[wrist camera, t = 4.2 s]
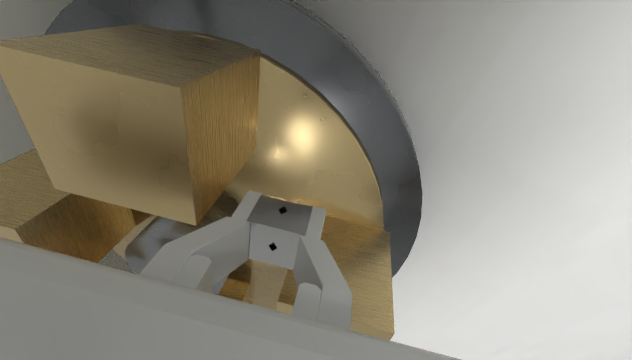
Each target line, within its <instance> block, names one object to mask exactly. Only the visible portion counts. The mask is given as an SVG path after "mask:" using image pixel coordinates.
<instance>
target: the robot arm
mask: <svg viewBox="0 0 632 360" xmlns="http://www.w3.org/2000/svg"><path fill="white" fill-rule="evenodd" d="M325 215H326V209H324V208H319V207H315V206H309V205H305V204H301V203H297V202H293V201H289V200H285V199H282V198H278V197H274V196H271V195H267V194H262V193H259V192H255V191H251V190H250V191H248V192H247V193H246V195H245V196H244V198H243V199H242V201H241V202H240V204H239V206H238V207H237V209H236V210H235V212H234V213H233V215H232V216H231V217H228V216H227V217H224V218H222V219H220V220H218V221H216V222H213V223H211V224H209V225H207V226H204V227H202V228H200V229H198V230H196V231H193V232H191V233H189V234H187V235H184V236H182V237H180V238H178V239H176V240H173V241H171V242H169V243H167V244H164V246H163V247H162V248H161V249H160V250H159V251H158V253H157V254H156V255H155V256H154V257H153V258H152V260H151V261H150V262H149V263H148V264H147V266H146V267H145V268H144V269H143V270H142V271H141V273H140V274H137V273H133V272H129V271H125V270H122V269H118V268H114V267H110V266H107V265H103V264H99V263H95V262H92V261H88V260H84V259H80V258H76V257H73V256H69V255H65V254H61V253H58V252H54V251H50V250H46V249H43V248H39V247H35V246H31V245H27V244H24V243H20V242H16V241H12V240H9V239H5V238H1V237H0V360H461V359H457V358H453V357H450V356H446V355H442V354H438V353H434V352H431V351H427V350H423V349H419V348H416V347H412V346H408V345H404V344H401V343H397V342H393V341H389V340H386V339H382V338H378V337H374V336H371V335H367V334H363V333H359V332H355V331H352V330H350V325H351V310H352V295H353V294H352V292H351V290H350V288H349V286H348V285H347V283H346V281H345V279H344V277H343V275H342V273H341V272H340V270H339V268H338V266H337V264H336V262H335V260H334V258H333V257H332V255H331V253H330V251H329V249H328V247H327V245H326V244H325V242H324V241H323V240H320V238H321V234H322V229H323V224H324V220H325ZM248 259H252V260H257V261H261V262H265V263H270V264H273V265H277V266H280V267H284V268H287V269H291V270H293V274H294V277H295V280H296V283H297V287H298V292H297V296H296V299H295V303H294V307H293V310H292V314H287V313H284V312H280V311H276V310H272V309H268V308H265V307H261V306H257V305H253V304H250V303H246V302H242V301H238V300H235V299H231V298H227V297H223V296H220V295H216V294H213V285H215V284H216V283H217V282H219V281H220V280H221V279H223V278H224V277H225V276H227V275H228V274H230V273H231V272H232V271H234V270H235V269H236V268H238V267H239V266H240V265H242V264H243V263H244V262H246V261H247V260H248Z"/></svg>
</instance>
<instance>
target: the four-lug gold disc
mask: <svg viewBox="0 0 632 360" xmlns="http://www.w3.org/2000/svg"><path fill="white" fill-rule="evenodd" d="M0 75H1V77H2V79H3V81H4V83H5V85H6V87H7V89H8V92H9V94H10V96H11V98H12V100H13V102H14V104H15V106H16V108H17V110H18V112H19V115H20V117H21V119H22V121H23V123H24V125H25V127H26V129H27V131H28V133H29V136H30V138H31V140H32V142H33V144H34V146H35V149H33V150H31V151H29V152H27V153H24V154H22V155H20V156H18V157H15V158H13V159H11V160H9V161H7V162H4V163H2V164H0V237H1V238H5V239H9V240H12V241H16V242H20V243H24V244H27V245H31V246H35V247H39V248H43V249H46V250H50V251H54V252H58V253H61V254H65V255H69V256H73V257H76V258H80V259H84V260H88V261H92V262H95V263H98V262H99V261H100V260H101V259H102V258H103V257H104V256H105V255H106V254H107V253H108V252H110V251H111V250H112V249H113V250H114V251H115V252H116V253H117V254H118V255H120V256H121V257H122V258H123V259H124V260H126V262H127V264H128V266H129V268H130V269H131V271H132V272H133V273H137V274H140V273H141V271H142V270H143V269H144V268H145V267H146V266H147V264H148V263H149V262H150V261H151V260H152V258H153V257H154V256H155V255H156V254H157V253H158V251H159V250H160V249H161V248H162V247H163V246H164V244H167V243H169V242H171V241H173V240H176V239H178V238H180V237H182V236H184V235H187V234H189V233H191V232H193V231H196V230H198V229H200V228H202V227H204V226H207V225H209V224H211V223H213V222H216V221H218V220H220V219H222V218H224V217H227V216H228V217H231V216H232V215H233V213H234V212H235V210H236V209H237V207H238V206H239V204H240V202H241V201H242V199H243V198H244V196H245V195H246V193H247V192H248V191H250V190H251V191H255V192H259V193H262V194H267V195H271V196H274V197H278V198H282V199H285V200H289V201H293V202H297V203H301V204H305V205H309V206H315V207H319V208H324V209H326V215H325V220H324V224H323V229H322V234H321V238H320V240H323V241H324V242H325V244H326V245H327V247H328V249H329V251H330V253H331V255H332V257H333V258H334V260H335V262H336V264H337V266H338V268H339V270H340V272H341V273H342V275H343V277H344V279H345V281H346V283H347V285H348V286H349V288H350V290H351V292H352V294H353V295H352V310H351V325H350V330H352V331H355V332H359V333H363V334H367V335H371V336H374V337H378V338H382V339H386V340H389V341H390V339H391V338H392V336H393V335H394V314H393V294H392V273H391V253H390V232H389V231H385V230H384V224H383V199H382V194H381V190H380V185H379V180H378V177H377V174H376V172H375V169H374V167H373V164H372V161H371V159H370V157H369V155H368V153H367V151H366V149H365V148H364V146H363V144H362V142H361V140H360V139H359V137H358V135H357V134H356V132H355V131H354V130H353V128H352V127H351V126H350V124H349V123H348V122H347V120H346V119H345V118H344V116H343V115H342V114H341V113H340V112H339V110H338V109H337V108H336V107H335V106H334V105H333V104H332V103H331V102H330V101H329V100H328V99H327V98H326V97H325V96H324V95H323V94H322V93H321V92H320V91H319V90H317V89H316V88H315V87H314V86H312V85H311V84H310V83H309V82H307V81H306V80H305V79H304V78H302V77H301V76H300V75H299V74H297V73H296V72H294V71H293V70H291V69H289V68H288V67H286V66H285V65H283V64H281V63H280V62H278V61H276V60H275V59H273V58H271V57H270V56H268V55H266V54H263V53H261V50H259V49H254V48H250V47H248V46H246V45H243V44H241V43H238V42H235V41H231V40H228V39H225V38H221V37H218V36H215V35H211V34H205V33H198V32H191V31H184V30H168V29H163V28H159V27H154V26H150V25H145V24H133V25H125V26H117V27H109V28H101V29H92V30H84V31H76V32H68V33H60V34H51V35H43V36H35V37H27V38H19V39H11V40H2V41H0ZM297 292H298V287H297V283H296V280H295V277H294V274H293V270H291V269H287V268H284V267H280V266H277V265H273V264H270V263H265V262H261V261H257V260H252V259H248V260H247V261H246V262H244V263H243V264H242V265H240V266H239V267H238V268H236V269H235V270H234V271H232V272H231V273H230V274H228V275H227V276H225V277H224V278H223V279H221V280H220V281H219V282H217V283H216V284H215V285H213V294H216V295H220V296H223V297H227V298H231V299H235V300H238V301H242V302H246V303H250V304H253V305H257V306H261V307H265V308H268V309H272V310H276V311H280V312H284V313H287V314H292V310H293V307H294V303H295V299H296V296H297Z"/></svg>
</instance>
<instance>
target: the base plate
mask: <svg viewBox="0 0 632 360" xmlns="http://www.w3.org/2000/svg"><path fill="white" fill-rule="evenodd" d="M133 24H145V25H150V26H154V27H159V28H163V29H168V30H184V31H191V32H198V33H205V34H211V35H215V36H218V37H221V38H225V39H228V40H231V41H235V42H238V43H241V44H243V45H246V46H248V47H250V48H254V49H259V50H261V53H263V54H266V55H268V56H270V57H271V58H273V59H275V60H276V61H278V62H280V63H281V64H283V65H285V66H286V67H288V68H289V69H291V70H293V71H294V72H296V73H297V74H299V75H300V76H301V77H302V78H304V79H305V80H306V81H307V82H309V83H310V84H311V85H312V86H314V87H315V88H316V89H317V90H319V91H320V92H321V93H322V94H323V95H324V96H325V97H326V98H327V99H328V100H329V101H330V102H331V103H332V104H333V105H334V106H335V107H336V108H337V109H338V110H339V112H340V113H341V114H342V115H343V116H344V118H345V119H346V120H347V122H348V123H349V124H350V126H351V127H352V128H353V130H354V131H355V132H356V134H357V135H358V137H359V139H360V140H361V142H362V144H363V146H364V148H365V149H366V151H367V153H368V155H369V157H370V159H371V161H372V164H373V167H374V169H375V172H376V174H377V177H378V180H379V185H380V190H381V194H382V199H383V224H384V230H385V231H389V232H390V253H391V273H392V277H393V276H394V275H395V274H396V273H397V272H398V270H399V269H400V267H401V266H402V264H403V263H404V261H405V260H406V258H407V257H408V255H409V253H410V251H411V248H412V246H413V244H414V241H415V239H416V236H417V232H418V228H419V223H420V219H421V207H422V188H421V180H420V171H419V165H418V161H417V157H416V153H415V149H414V146H413V143H412V139H411V136H410V132H409V129H408V126H407V124H406V122H405V120H404V117H403V115H402V113H401V111H400V109H399V107H398V105H397V102H396V100H395V99H394V97H393V96H392V94H391V93H390V91H389V90H388V88H387V87H386V85H385V83H384V82H383V80H382V79H381V77H380V76H379V74H378V73H377V72H376V71H375V70H374V68H373V67H372V66H371V65H370V64H369V63H368V62H367V60H366V59H365V58H364V57H363V56H362V55H361V54H360V52H359V51H358V50H357V49H356V48H355V47H354V46H353V45H352V44H351V43H349V42H348V41H347V40H346V39H345V38H344V37H342V36H341V35H340V34H339V33H338V32H337V31H336V30H334V29H333V28H332V27H331V26H330V25H329V24H327V23H326V22H324V21H323V20H321V19H320V18H318V17H316V16H315V15H313V14H312V13H310V12H309V11H307V10H306V9H304V8H303V7H301V6H299V5H298V4H296V3H294V2H292V1H290V0H74V1H73V2H72V3H71V4H69V5H68V6H67V7H66V8H65V9H64V10H62V11H61V12H60V14H59V15H58V16H57V18H56V19H55V20H54V22H53V23H52V24H51V26H50V27H49V28H48V30H47V31H46V33H45V35H51V34H60V33H68V32H76V31H84V30H92V29H101V28H109V27H117V26H125V25H133Z"/></svg>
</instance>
